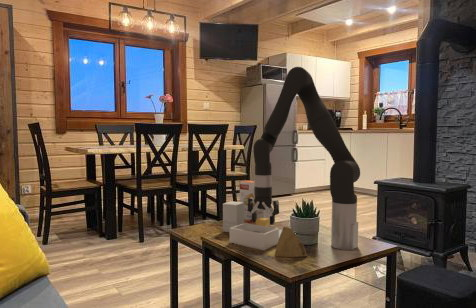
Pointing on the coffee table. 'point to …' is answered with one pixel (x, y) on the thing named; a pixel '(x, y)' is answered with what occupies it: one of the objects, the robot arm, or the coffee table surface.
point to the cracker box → (245, 194)
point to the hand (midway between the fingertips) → (263, 223)
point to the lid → (265, 223)
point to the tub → (254, 236)
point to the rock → (289, 245)
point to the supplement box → (232, 215)
